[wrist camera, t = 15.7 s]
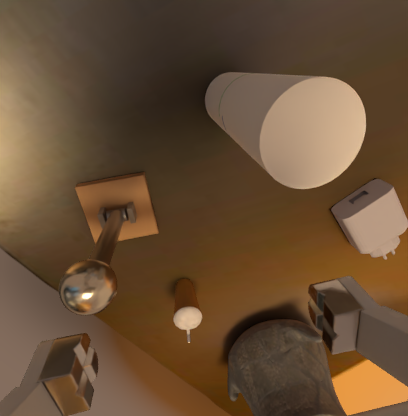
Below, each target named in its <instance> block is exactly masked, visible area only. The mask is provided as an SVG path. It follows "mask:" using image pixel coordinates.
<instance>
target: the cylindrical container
mask: <svg viewBox="0 0 408 416" xmlns="http://www.w3.org/2000/svg"><path fill="white" fill-rule="evenodd" d="M205 106H206V110H207V112H208V114H209V116H210V117H211V118H212V119H213V120H214V121H215V122H216V123H217V124H218V125H219V126H220V127H221V128H222V129H223V130H224V131H225V132H226V133H227V134H228V135H229V136H230V137H231V138H232V139H233V140H235V141H236V142H237V143H238V144H239V145H240V146H241V147H242V148H243V149H244V150H245V151H246V152H247V153H248V154H249V155H250V156H251V157H252V158H253V159H254V160H255V161H256V162H257V163H258V164H259V165H260V166H261V167H263V168H264V169H265V170H266V171H267V172H268V173H269V174H270V175H271V176H272V177H273V178H274V179H275V180H276V181H278V182H280V183H281V184H283V185H285V186H288V187H291V188H297V189H309V188H315V187H318V186H321V185H324V184H326V183H328V182H330V181H332V180H333V179H335V178H336V177H338V176H339V175H340V174H341V173H342V172H343V171H344V170H346V169H347V168H348V166H349V165H350V164H351V163H352V161H353V160H354V159H355V157H356V155H357V153H358V152H359V150H360V147H361V145H362V142H363V139H364V135H365V129H366V116H365V110H364V106H363V104H362V101H361V99H360V97H359V96H358V94H357V93H356V92H355V90H354V89H352V88H351V87H350V86H349V85H348V84H346V83H345V82H342V81H340V80H338V79H335V78H329V77H319V76H299V75H279V74H259V73H240V72H227V73H223V74H221V75H219V76H217V77H216V78H215V79H214V80H213V81H212V82H211V83H210V85H209V87H208V88H207V91H206V95H205Z"/></svg>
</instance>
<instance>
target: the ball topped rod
mask: <svg viewBox="0 0 408 416" xmlns="http://www.w3.org/2000/svg"><path fill="white" fill-rule="evenodd" d="M106 217H107V221H106V223H105V226H104V228H103V230H102V232H101V234H100V236H99V238H98V240H97V242H96V244H95V247H94V249H93V251H92V253H91V255H90V257H89V259H86V260H82V261H79V262H77V263H75V264H73V265H72V266H71V267H69V268H68V269H67V270H66V272H65V273H64V274H63V276H62V278H61V281H60V285H59V295H60V298H61V301H62V303H63V304H64V306H65V307H66V308H67V309H68V310H70V311H71V312H73V313H75V314H78V315H93V314H96V313H99V312H101V311H102V310H104V309H105V308H107V307H108V306H109V305H110V303H111V302H112V301H113V299H114V297H115V295H116V292H117V278H116V275H115V273H114V271H113V270H112V268H111V267H110V266H109V265H110V262H111V259H112V256H113V253H114V250H115V247H116V244H117V241H118V238H119V235H120V232H121V229H122V226H123V223H124V221H128V220H129V216H128V213H127V208H120V209H115V210H109V211H107V212H106Z"/></svg>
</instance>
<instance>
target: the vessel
mask: <svg viewBox="0 0 408 416" xmlns="http://www.w3.org/2000/svg"><path fill="white" fill-rule="evenodd" d="M239 392H241V393H242V394H243V396H244V398H245V400H246V402H247V403H248V405H249V407H250V409H251V411H252V412H253V414H254V416H347V415H346V413H345V412H344V410H343V408H342V406H341V405H340V402H339V400H338V397H337V395H336V393H335V390H334V387H333V383H332V379H331V375H330V371H329V366H328V361H327V357H326V353H325V349H324V346H323V343H322V338H321V336H320V335H319V334H318V333H317V332H316V331H315V330H313V329H312V328H311V327H310V326H309V325H308V324H306V323H304V322H301V321H298V320H292V319H276V320H269V321H265V322H261V323H258V324H256V325H254V326H252V327H250V328H249V329H248V330H246V331H245V332H244V333H243V334H241V335H240V337H239V338H238V339H237V340H236V341H235V343H234V344H233V346H232V348H231V350H230V352H229V356H228V394H229V397H230V399H231V400H232V401H235V400H236V399H237V397H238V393H239Z"/></svg>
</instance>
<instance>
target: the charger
mask: <svg viewBox="0 0 408 416" xmlns="http://www.w3.org/2000/svg"><path fill="white" fill-rule="evenodd" d="M331 211H332V213H333V214H334V216H335V218H336V220H337V221H338V223H339V225H340V227H341V228H342V230H343V232H344V233H345V235H346V237H347V239H348V240H349V242H350V244H351V245H352V246H353V247H355V248H356V249H357V250H358V251H359V252H360V253H370V255H371V256H372V257H379V256H383V258H384V259H387V257H386V254H387V253H389V252H390V251H391V252H392V254H395V251H394V249H395V248H396V247H397V246H398V244H399V243H400V239H399V237H398V236H399V235H401V234H402V233H404V232H405V230H406V229H407V227H408V220H407V218H406V216H405V213H404V211H403V209H402V206H401V204H400V202H399V199H398V197H397V195H396V192H395V190H394V188H393V186H392V185H390V184H388V183H386V182H384V181H382V180H380V179H375V180H372V181H370V182H369V183H367V184H365V185H364V186H362V187H361V188H359V189H358V190H356V191H355V192H353V193H352V194H350V195H349V196H347V197H346V198H344V199H343V200H341V201H340V202H338V203H337V204H336V205H334V206H333V207H332V209H331Z"/></svg>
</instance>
